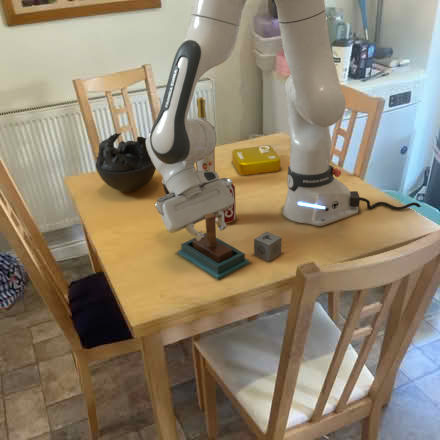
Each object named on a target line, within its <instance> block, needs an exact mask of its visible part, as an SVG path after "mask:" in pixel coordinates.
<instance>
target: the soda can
mask: <svg viewBox="0 0 440 440" xmlns="http://www.w3.org/2000/svg"><path fill="white" fill-rule="evenodd" d="M218 180H220V181H222V182H223V183H224V184H225V185H226V187H227V188H228V190H229V191H230V193H231V195H232V196H233V198H234V204H233V205H232V206H231V207H230V208H229V209H227V210H225V211H223V212H224V222H225V224H230V223H232V222H234V221H235V220H236V218H237V211H236V210H237V208H236V187H235V185H234V184H233V180H232V179H231V178H227V177H219V178H218ZM215 223H219V218H216V216H215Z"/></svg>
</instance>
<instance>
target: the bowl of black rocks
mask: <svg viewBox="0 0 440 440" xmlns="http://www.w3.org/2000/svg"><path fill="white" fill-rule="evenodd" d="M121 135H122V132H119V133H113V134H111V135H110V136H109V137H108V138H106V139H104V140H102V141H101V142H100V143H99V145H98V152H97V157H96V162H95V170H96V171H97V174H98V176H99V177H100V179H101V180H102V182H104V183H105V184H106V185H107V186H109V187H110V188H111V189H114V190H115V191H119V192H124V193H131V192H135V191H138V190H141V189H142V188H144V187H146V186H147V185H148V184H150V182H151V181H152V179H153V177H154V175H155V173H156V171H157V170H156V168H155V166H154V164H153V162H152V160H151V158H150V156H149V154H148V151H147V148H146V138H147V137H144V136H137V137H136V141H135V140H127V141H124V140H121V141H119V143H118V145H117V147H115V142H116V141H117V140H118V139H119V137H120V136H121Z"/></svg>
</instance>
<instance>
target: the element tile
mask: <svg viewBox="0 0 440 440" xmlns="http://www.w3.org/2000/svg"><path fill="white" fill-rule="evenodd" d="M231 157H232V158H231V159H232V163H233V165H234V167H235V170H237V171H236V172H237V173H238V174H239V175H241V176H250V175H251V176H252V175H260V174H267V173H274V172H279V171H280V170H281V157H280V156H279V154H278V153H277V152H276V150H274V148H273V146H271V145H261V146H259V145H258V146H252V147H242V148H235V149H233V150H232V151H231Z"/></svg>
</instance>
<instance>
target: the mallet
mask: <svg viewBox="0 0 440 440" xmlns="http://www.w3.org/2000/svg"><path fill="white" fill-rule="evenodd" d="M204 221H205V233H206V234H207V235H206V234H205V233H204V234H205V235H204V238H203V239H202V240H200V241H197V239H194V238H193V239H194V240H192V242H193V248H194V249H196V250H197V251H199V252H200V253H202V254H204V255H205V256H207V257H209V258H210V259H212V260H213V261H215V262H217V263H218V264H219V263H221V262H223V261H225V260H227V259H229V258H230V257H232V256H233V252H232V249H230V248H229V247H227V246H225V245H223V244H222V243H220V242H218V241H216V238H217V229H216V227H217V226H216V221H215V215H214V214H213V213H208V214H206V215H205V219H204Z"/></svg>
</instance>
